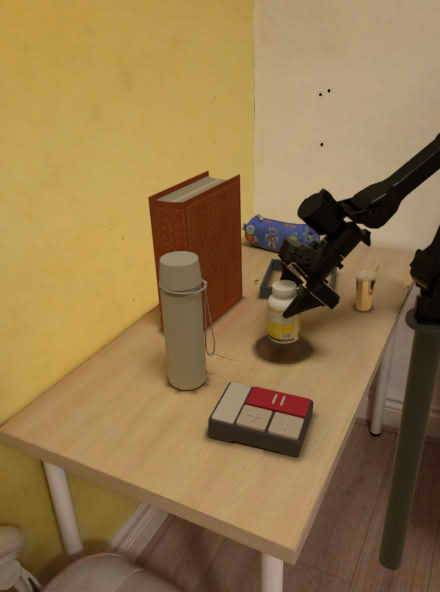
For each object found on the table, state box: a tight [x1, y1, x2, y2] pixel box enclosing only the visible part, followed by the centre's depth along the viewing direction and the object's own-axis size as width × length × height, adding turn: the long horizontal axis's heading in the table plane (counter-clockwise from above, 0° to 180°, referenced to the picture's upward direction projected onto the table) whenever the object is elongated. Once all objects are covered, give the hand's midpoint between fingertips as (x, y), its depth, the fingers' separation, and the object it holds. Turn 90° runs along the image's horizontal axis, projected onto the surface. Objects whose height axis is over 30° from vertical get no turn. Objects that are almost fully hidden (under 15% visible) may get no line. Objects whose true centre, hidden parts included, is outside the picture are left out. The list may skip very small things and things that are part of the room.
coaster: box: [255, 334, 311, 365], centre depth 110 cm, size 11×11×1 cm
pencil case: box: [241, 213, 321, 253], centre depth 154 cm, size 22×9×10 cm, turn 53°
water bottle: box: [159, 251, 216, 391], centre depth 96 cm, size 9×8×25 cm
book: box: [147, 170, 243, 333], centre depth 117 cm, size 23×8×30 cm, turn 149°
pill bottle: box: [267, 279, 302, 344], centre depth 106 cm, size 6×6×12 cm
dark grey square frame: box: [259, 258, 338, 300], centre depth 135 cm, size 17×17×3 cm
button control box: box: [207, 381, 315, 458], centre depth 89 cm, size 11×4×15 cm
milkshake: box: [355, 265, 380, 312], centre depth 122 cm, size 4×5×10 cm
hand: (277, 309), depth 105 cm, fingers closed on pill bottle, 6 cm apart
